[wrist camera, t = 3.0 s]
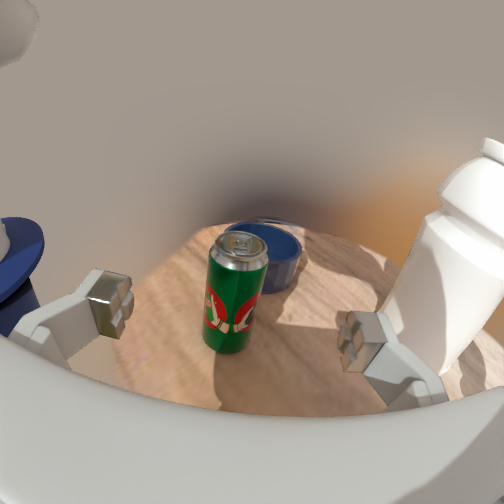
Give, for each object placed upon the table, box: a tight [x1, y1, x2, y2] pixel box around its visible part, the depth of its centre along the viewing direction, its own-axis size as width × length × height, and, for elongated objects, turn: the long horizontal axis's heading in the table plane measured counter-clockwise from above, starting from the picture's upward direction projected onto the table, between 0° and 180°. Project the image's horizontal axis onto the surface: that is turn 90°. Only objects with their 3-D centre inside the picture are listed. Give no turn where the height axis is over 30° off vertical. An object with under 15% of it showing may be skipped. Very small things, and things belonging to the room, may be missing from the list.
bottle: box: [378, 138, 504, 376], centre depth 24 cm, size 14×14×28 cm
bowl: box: [224, 222, 302, 294], centre depth 39 cm, size 11×11×5 cm
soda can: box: [202, 231, 269, 353], centre depth 25 cm, size 5×5×12 cm
